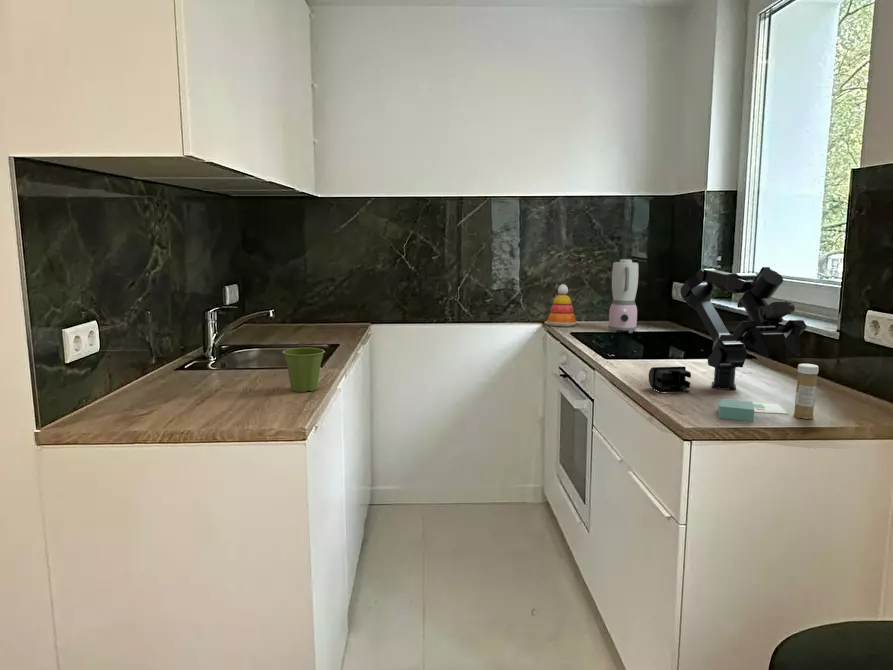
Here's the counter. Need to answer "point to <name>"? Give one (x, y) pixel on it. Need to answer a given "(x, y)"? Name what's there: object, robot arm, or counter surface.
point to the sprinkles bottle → (806, 391)
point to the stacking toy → (562, 310)
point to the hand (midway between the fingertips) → (783, 355)
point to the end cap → (669, 379)
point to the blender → (624, 296)
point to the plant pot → (303, 367)
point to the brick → (736, 410)
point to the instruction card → (768, 408)
